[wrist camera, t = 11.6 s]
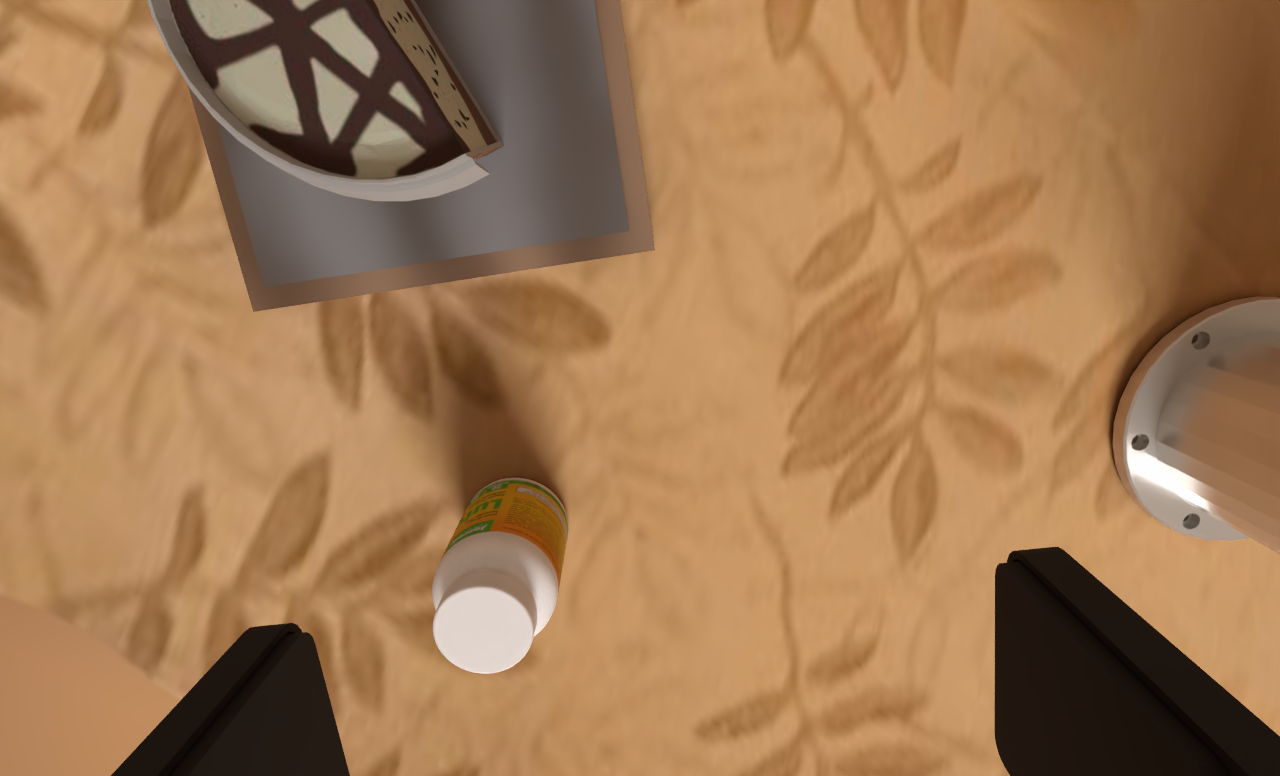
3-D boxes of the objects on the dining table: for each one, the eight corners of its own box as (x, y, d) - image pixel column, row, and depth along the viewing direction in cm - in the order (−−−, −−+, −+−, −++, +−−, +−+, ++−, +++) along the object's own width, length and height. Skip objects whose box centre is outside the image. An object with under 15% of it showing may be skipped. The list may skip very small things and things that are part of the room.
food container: (218, -21, 29) (11, -127, 19) (346, -112, 28) (199, -270, 18) (403, 254, 32) (305, 282, 22) (523, 177, 31) (477, 172, 21)
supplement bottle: (506, 454, 37) (466, 543, 28) (590, 515, 38) (578, 620, 29) (444, 530, 38) (386, 641, 29) (527, 588, 39) (497, 713, 30)
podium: (589, -198, 30) (585, -239, 27) (652, 245, 35) (655, 250, 32) (159, -126, 30) (109, -160, 27) (279, 303, 35) (248, 313, 32)
